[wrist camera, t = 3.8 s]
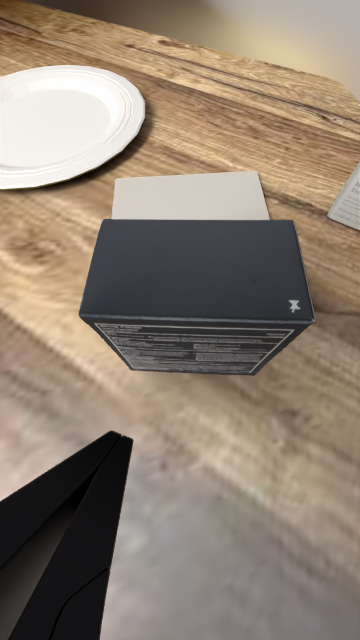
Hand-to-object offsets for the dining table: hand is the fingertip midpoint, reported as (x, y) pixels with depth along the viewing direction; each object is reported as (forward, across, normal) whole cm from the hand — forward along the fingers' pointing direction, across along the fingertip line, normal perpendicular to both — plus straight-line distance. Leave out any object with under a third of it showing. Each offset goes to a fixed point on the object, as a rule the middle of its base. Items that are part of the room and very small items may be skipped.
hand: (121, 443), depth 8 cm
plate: (+30, +30, -15) cm, 45 cm away
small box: (+14, 0, +2) cm, 14 cm away
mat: (+22, +4, -7) cm, 23 cm away
